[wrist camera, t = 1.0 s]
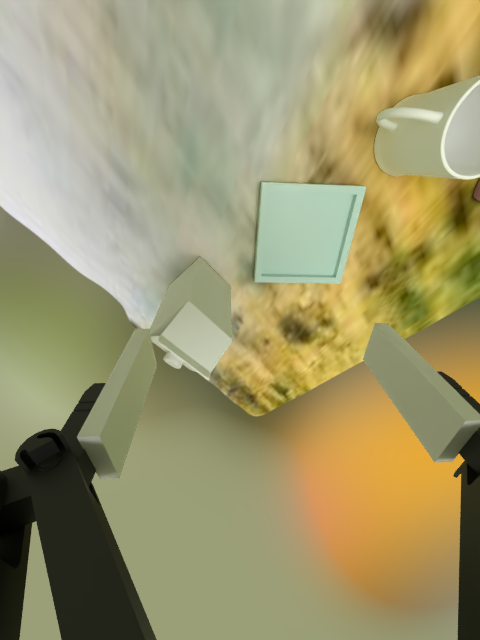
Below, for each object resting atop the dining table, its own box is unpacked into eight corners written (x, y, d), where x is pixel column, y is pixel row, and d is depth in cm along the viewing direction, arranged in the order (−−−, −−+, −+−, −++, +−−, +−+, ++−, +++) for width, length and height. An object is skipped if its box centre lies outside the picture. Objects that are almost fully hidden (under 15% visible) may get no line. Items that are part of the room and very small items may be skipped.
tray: (260, 181, 35) (262, 182, 33) (360, 185, 35) (366, 186, 34) (253, 277, 42) (254, 282, 40) (336, 279, 43) (340, 283, 41)
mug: (339, 154, 33) (389, 151, 23) (376, 69, 29) (457, 21, 19) (412, 185, 36) (487, 194, 26) (457, 110, 31) (567, 87, 21)
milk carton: (200, 255, 40) (183, 320, 24) (230, 286, 43) (233, 363, 27) (169, 283, 42) (134, 360, 26) (200, 311, 45) (186, 395, 29)
